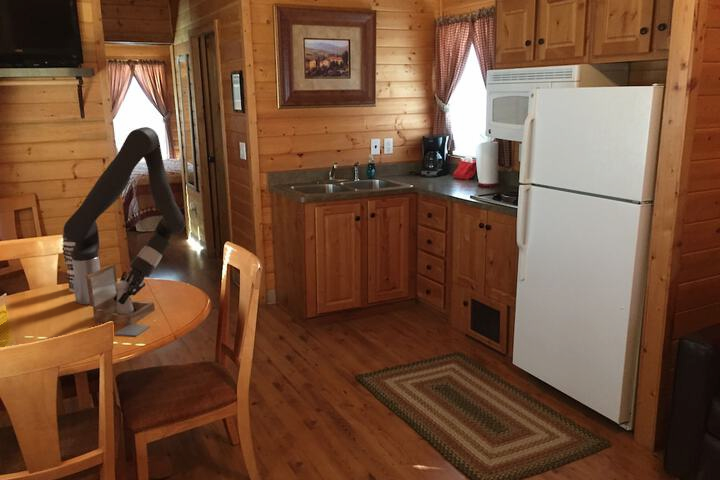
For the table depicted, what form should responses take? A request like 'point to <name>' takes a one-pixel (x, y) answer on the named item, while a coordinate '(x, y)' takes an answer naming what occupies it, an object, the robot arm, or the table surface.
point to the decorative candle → (69, 260)
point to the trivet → (132, 330)
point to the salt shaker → (127, 306)
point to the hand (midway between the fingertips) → (118, 301)
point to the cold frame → (111, 298)
